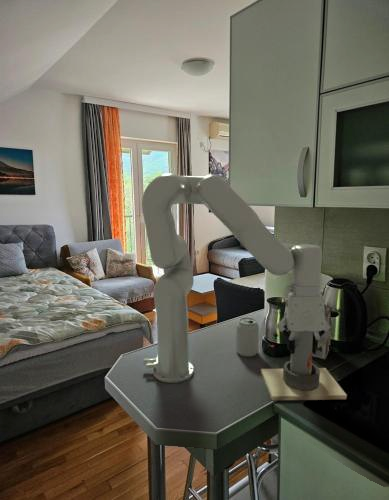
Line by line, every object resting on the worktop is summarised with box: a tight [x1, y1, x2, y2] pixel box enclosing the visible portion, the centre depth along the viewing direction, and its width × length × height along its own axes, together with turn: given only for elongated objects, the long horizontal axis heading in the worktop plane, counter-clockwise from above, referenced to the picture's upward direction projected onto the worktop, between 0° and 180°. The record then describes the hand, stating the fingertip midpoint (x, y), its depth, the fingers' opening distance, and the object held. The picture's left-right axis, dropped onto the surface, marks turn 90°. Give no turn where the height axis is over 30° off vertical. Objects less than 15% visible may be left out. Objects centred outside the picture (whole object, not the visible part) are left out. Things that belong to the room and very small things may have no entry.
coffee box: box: [312, 303, 333, 360], centre depth 113 cm, size 9×6×16 cm
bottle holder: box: [260, 359, 348, 401], centre depth 94 cm, size 20×14×5 cm
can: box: [235, 316, 260, 358], centre depth 113 cm, size 8×8×12 cm
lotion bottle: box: [290, 330, 313, 376], centre depth 93 cm, size 6×6×20 cm
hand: (301, 350), depth 93 cm, fingers closed on lotion bottle, 5 cm apart
